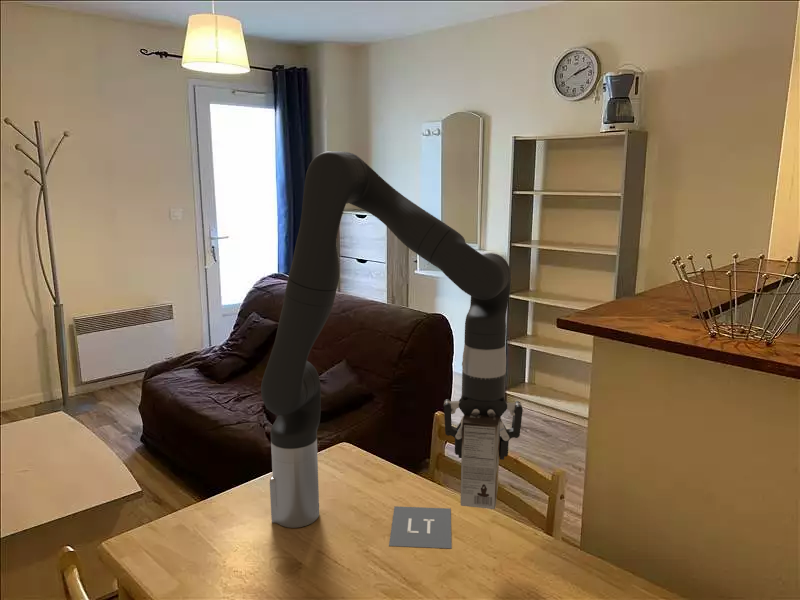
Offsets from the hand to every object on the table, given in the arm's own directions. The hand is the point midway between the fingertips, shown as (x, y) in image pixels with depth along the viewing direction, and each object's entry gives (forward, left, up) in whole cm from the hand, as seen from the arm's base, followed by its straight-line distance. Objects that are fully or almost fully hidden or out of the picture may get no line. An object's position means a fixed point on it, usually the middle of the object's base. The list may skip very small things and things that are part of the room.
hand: (481, 456), depth 110 cm
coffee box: (0, 0, -8) cm, 8 cm away
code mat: (-11, +9, -20) cm, 25 cm away
